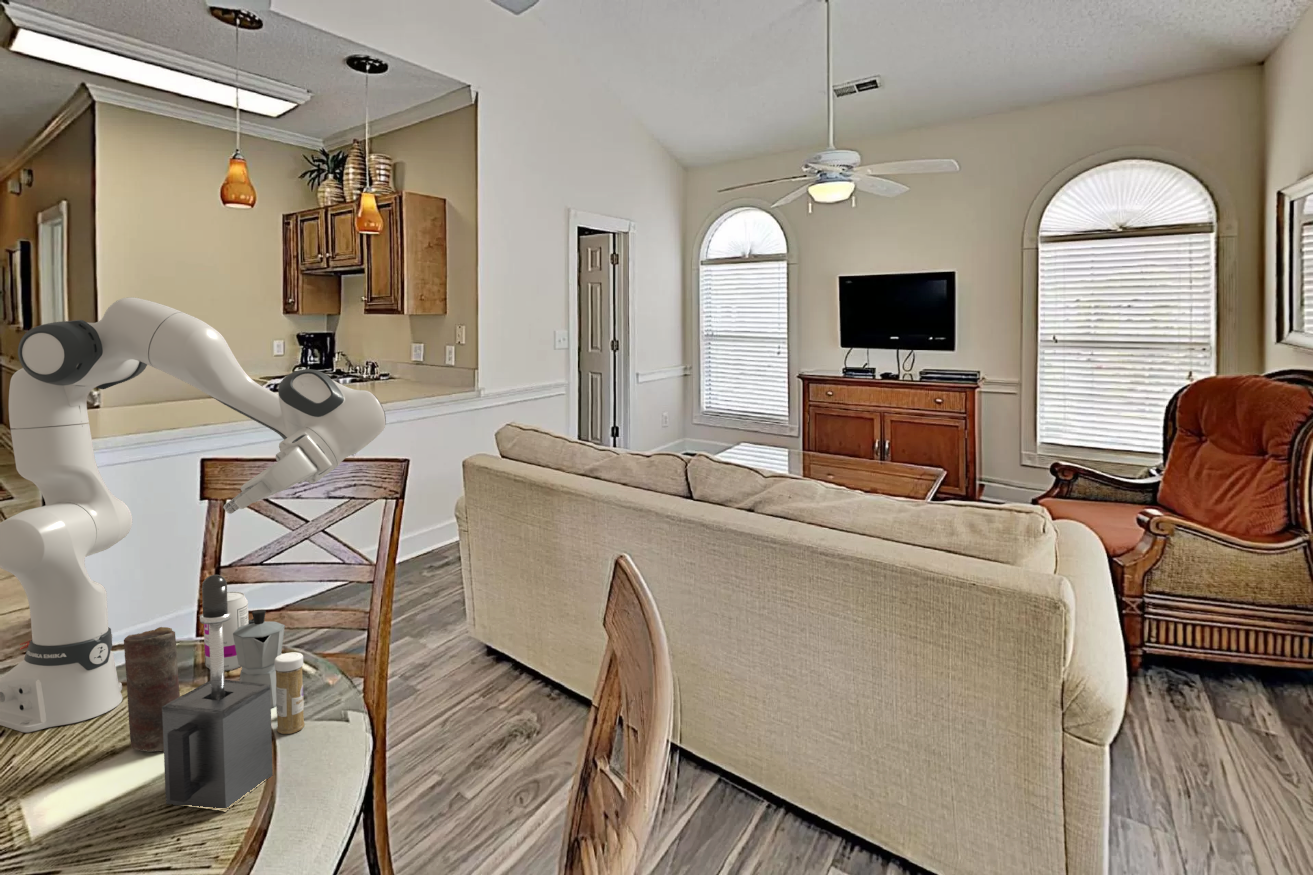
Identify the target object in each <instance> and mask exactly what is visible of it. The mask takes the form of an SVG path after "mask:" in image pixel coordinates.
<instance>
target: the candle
mask: <svg viewBox="0 0 1313 875" xmlns="http://www.w3.org/2000/svg"><path fill="white" fill-rule="evenodd" d="M123 649H124V663H125V664H124V665H125V675H126V676H125V677H126V694H127V696H126V697H127V709H128V727H129V728H128V729H129V741H130V742H129V743H130V747H131V748H133V749H135V750H137V751H144V752H148V753H151V752H164V743H163V718H162V706H164V705H166V704H168V703H170V702H171V701H173V700H175V699H177V698H179V697H181V696H180V695H181V694H180V680H179V667H178V651H177V649H178V648H177V639H176V631H175V630H173V629H172V628H171V627H166V626H163V627H162V626H159V627H156V629H151V630H148V631H144V632H143V631H142V632H141V633H140V632H139V633H135V634H129V635H127V636H125V638H124V639H123Z"/></svg>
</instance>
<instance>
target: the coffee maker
mask: <svg viewBox="0 0 1313 875" xmlns="http://www.w3.org/2000/svg"><path fill="white" fill-rule="evenodd" d="M266 612H267V611H266V609H256V610H253V611H252V612H251V614H252V619H248V625H245V626H241V627H239V628H238V629H237V630H236V631H235V632H234V633H233V638H234V643H235V648H236V654H237V659H238V664H239V665H240V666H241V670H240V674H239V681H242V682H251V683H260V684H269V685H270V694H271V709H274V708H277V707H276V671H275V658H276V657H277V656H279V655H281V654H282V650H283V643H284V634H285V627H286V625H285V624H284V623H280V622H277V621H265V619H266V618H265V617H266Z"/></svg>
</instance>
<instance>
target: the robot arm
mask: <svg viewBox="0 0 1313 875" xmlns="http://www.w3.org/2000/svg"><path fill="white" fill-rule="evenodd" d="M105 310H106V311H105V312H104V314H103V315H102V318H101V319H100V320H99V321H96V322H89V321H88V322H87V321H86V320H83V319H76V320H75V319H73V320H67V321H66V320H65V321H54V322H48V323H45V324H40V325H37V326H35V327H32V328H30V329H29V330H27V332H26V333H24V334H23V336H22V337H21V339H20V341H19V344H18V347H17V355H18V356H17V357H18V360H19V363H20V365H21V367H22V368H20V369H18V370H17V371H15V372H14V373H13V374H12V376H11V378H10V381H9V391H8V420H9V427H10V434H11V435H10V436H11V441H12V448H13V455H14V462H15V469H16V471H17V473H18V475H20V476H21V478H24V479H25V480H27V481H29V482H32V483H33V484H34V485H35V487H37V489H38V490H39V492H40V493H41V496H42V497H43V500H44V502H45V505H42V506H38V507H34V508H29V509H26V510H23V511H20V512H19V513H17V514H14V515H12V516H10V517H8V518H6V519H5V520H3V521H1V522H0V569H2V570H3V571H6V572H8V573H10V574H12V575H14V577H15V578H16V579H17V580H18V581H19V583H20V585H21V586H22V589H23V590H24V592H25V595H26V597H27V601H28V606H29V615H30V626H31V639H30V640H27V641H24V642H21V643H19V646H22V647H20V648H19V650H25V649H26V652H25V656H24V659H23V660H22V661H20V662H19V663H18V664H17V665H15V666H14V667H12V668H11V669H10V670H9V671H8V672H6V673H5V674H3V675H2V676H0V726H3V727H6V728H9V729H12V730H15V731H17V732H22V733H31V732H36V731H40V730H43V729H47V728H51V727H58V726H65V725H70V724H75V723H79V722H84V721H86V720H90V719H92V718H95V717H96V718H97V717H98V716H101V715H103V714H105V713H108V712H109V711H111V710H113V709H115V708H116V707H118V706H119V705H120V704H121V702H122V701H123V699H124V698H123V695H122V693H121V691H122V690H123V685H122V682H121V681H119V680H118V678H119V677H118V673H117V667H116V661H115V655H114V652H113V651H112V648H113V634H112V628H111V627H110V626H109V614H108V613H109V611H108V593H107V589H106V588H105V587H104V586H103V585H102V584H101V583H100V582H97V581H94V580H92V579H91V577H90V575H89V573H88V570H87V566H86V563H85V561H86V560H85V558H86V557H90V556H92V555H95V554H98V553H101V552H104V551H107V550H108V549H110V548H111V547H113V546H115V545H116V544H117V543H118V542H120V541H122V540H123V539H124V538H126V536H127V535H128V534H129V533H130V531H131V530H132V526H133V516H132V515H133V514H132V512H131V510H130V508H129V506H127V504H126V503H125V502H124V501H123V500H122V499H119V498H118V497H116V496H115V495H114V494H113V493H112V492H111V490H110V489H109V487H108V486H107V485H106V482H105V480H104V479H103V476H102V475H101V473H100V470H99V467H98V465H97V462H96V457H95V452H94V450H95V449H94V445H93V438H92V433H91V427H90V418H89V413H88V404H87V400H88V396H89V395H90V392H91V391H92V390H94V389H95V388H97V389H99V390H106V389H108V388H111V387H113V386H116V385H120V384H123V383H125V382H128V381H131V380H132V379H134V378H136V377H137V376H139V375H141V374H142V373H143V372H145V371H144V370H145V369H146V368H147V366H149V367H152V368H154V369H156V370H159V371H162V372H164V373H165V374H168V375H169V376H172V377H174V378H176V379H178V380H180V381H182V382H184V383H187V384H189V385H190V386H192V387H193V388H195V389H197V390H199V391H200V392H202V393H204V394H205V395H207V396H209V397H211V398H212V399H214V400H216V401H218V402H219V403H221V404H222V405H224V406H226V407H228V408H229V409H231V410H233V411H235V412H237V413H239V414H241V415H243V416H245V417H246V418H248V419H251V420H253V421H254V422H256V423H258V424H260V425H262V426H264V427H266V428H268V429H270V430H271V431H274V433H276V434H277V435H279V436H280V437H281V438H282V439H283V440H282V441H280V442H279V445H278V447H279V448H278V449H279V450H280V451H278V452H277V453H276V454H275V460H276V462H275V463H274V464H271V465H270V466H269V467H267V468H266V469H265V470H263V471H262V472H260V473H258V474H257V475H256V476H254V477H253V478H250V479H249V480H248V481H247V482H245V483H243V485H242V486H241V487H240V492H239V493H238V494H237V495H236V496H234V497H233V498H232V499H231V500H230V501H228V502H227V503H225V504H224V505H223V507H222V508H223V510H225V512H226V513H227V514H229V515H231V514H233V513H235V512H237V511H238V510H242V509H246V508H247V507H249V506H250V505H252V504H253V503H254V504H255V503H257V502H259V501H262V500H265V499H266V498H269V497H270V496H273V495H276V494H278V493H280V492H283V491H285V490H287V489H290V488H291V487H293V486H295V485H297V484H300V485H301V484H302V483H304V482H307V483H309V484H316V483H317V482H319V481H320V480H321V479H322V478H324V477H325V476H327V475H328V474H329V473H330V472H332V471H333V470H334V469H337V468H338V467H339V466H340V464H342V462H343V461H344V460H345V459H346V458H348V457H350V456H353V455H355V454H357V453H358V452H360V451H361V450H363V449H364V448H365V447H366V446H368V445H369V444H370V443H372V441H374V440H375V439H376V438H377V437H378V436H379V435H380V434H381V433H382V432H383V431H384V429H386V423H387V420H386V417H387V416H386V411H385V410H384V408H383V405H382V403H381V402H380V400H379V399H378V397H377V396H376V395H375V394H373V393H372V392H370V391H369V390H364V389H363V390H362V389H355V388H351V387H349V386H346V385H344V384H341V383H339V382H337V381H335V380H334V379H333V378H332V379H331V377H330V376H329V375H328V374H326V373H324V372H323V371H320V370H317V369H312V368H311V369H310V368H305V369H299V370H295V371H292V372H291V373H289V374H287V375H286V376H285V377H284V378H283V379H282V380H281V381H280V383H279V385H278V388H277V391H278V392H277V393H276V392H274V391H273V390H270V389H268V388H266V387H264V386H263V385H260V384H258V382H256V380H254V379H252V378H251V377H250V376H249V375H248V374H247V373H246V372H245V370H244V369H243V367H242V366H241V365H240V363H239V361H238V360H237V358H236V356H235V355H234V353H233V351H232V349H231V348H230V346H229V344H228V342H227V340H226V339H225V337H224V336H223V335H222V334H221V333H220V332H219V331H218V330H217V329H216V328H214V327H213V326H212V325H210V324H208V323H207V322H206V321H203V320H202V319H200V318H197V317H196V316H193V315H191V314H189V313H186V312H184V311H181V310H179V309H176V308H174V307H171V306H168V305H165V304H161V303H158V302H156V301H152V300H149V299H143V298H139V297H134V296H133V297H132V296H131V297H123V298H120V299H118V300H116V301H114V302H113V303H111V305H110V306H108V308H106V309H105ZM23 645H24V646H23Z"/></svg>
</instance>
